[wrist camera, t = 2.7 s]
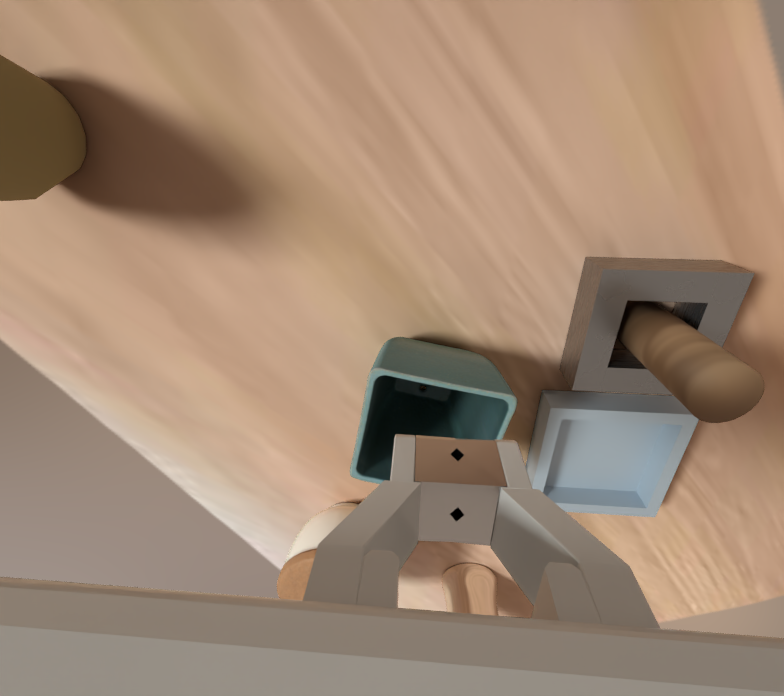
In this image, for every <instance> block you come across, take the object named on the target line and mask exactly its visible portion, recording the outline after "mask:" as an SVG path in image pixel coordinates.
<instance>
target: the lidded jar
mask: <svg viewBox="0 0 784 696" xmlns="http://www.w3.org/2000/svg"><path fill="white" fill-rule="evenodd" d="M358 505H359V504H356V503H339V504H335V505H333V506H331V507H329V508H328V509H326V510H323V511H321V512H320V513H318V514H316V515H315V516H314V517H312V518H311V519H310V520H309V521H308V522H307V523H306V524H305V525H304V526H303V528H302V529H301V530H300V532H299V533H298V535H297V536H296V538H295V540H294V542H293V544H292V546H291V548H290V550H289V553H288V556H287V558H286V561H285V564H284V566H283V568H282V570H281V572H280V575H279V578H278V582H277V592H278V595H279V598H280V599H291V600H303V598H304V594H305V590H306V587H307V583H308V580H309V576H310V572H311V569H312V565H313V561H314V558H315V554H316V550H317V547H318V544H319V543H320V542H321V541H322V540H323V539H324V538H325V537H326V536H327V535H328V534H329V533H330V532H331V531H332V530H333V529H334V528H335V527H336V526H337V525H338V524H339V523H341V522H342V521H343V520H344V519H345V518H346V517H347V516H348V515H349V514H350V513H351V512H352V511H353V510H354V509H355V508H356V507H357V506H358Z"/></svg>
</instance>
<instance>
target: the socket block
mask: <svg viewBox="0 0 784 696" xmlns="http://www.w3.org/2000/svg"><path fill="white" fill-rule="evenodd" d="M754 274H755V273H753V272H750V271H748V270H745V269H742V268H740V267H737V266H735V265H732V264H730V263H727V262H725V261H722V260H684V259H645V258H606V257H586V258H585V262H584V267H583V271H582V275H581V280H580V284H579V288H578V293H577V297H576V301H575V305H574V310H573V314H572V318H571V323H570V327H569V331H568V335H567V340H566V344H565V348H564V353H563V357H562V361H561V365H560V371H561V373H562V374H563V376H564V378H565V379H566V381H567V383H568V384H569V386H570V388H571V389H572V390H579V391H601V392H623V393H645V394H667V395H673V394H672V393H671V392H670V391H669V390H668V389H667V388H666V387H665V386H664V385H663V384H662V383H661V382H660V381H659V380H658V379H657V378H656V377H655V376H654V375H653V374H652V373H651V372H650V371H649V370H648V369H647V368H646V367H645V366H644V365H643V364H642V363H641V362H640V361H639V360H638V359H637V358H636V357H635V356H634V355H633V354H632V353H631V352H630V351H629V350H627V349H613V347H614V344H615V340H616V337H617V333H618V330H619V327H620V323H621V320H622V317H623V313H624V310H625V306H626V303H627V300H631V301H662V302H676V304H675V307H674V309H673V312H672V314H674V315H675V316H677V317H678V318H680V319H681V320H683V321H684V322H686V323H687V324H688V325H690V326H691V327H693V328H694V329H696V330H697V331H699V332H700V333H702V334H703V335H705V336H706V337H707V338H709V339H710V340H712V341H713V342H715V343H716V344H718V345H719V346H721V347H723V344H724V342H725V340H726V338H727V335H728V333H729V331H730V328H731V326H732V324H733V322H734V319H735V317H736V315H737V312H738V310H739V308H740V306H741V303H742V301H743V299H744V296H745V294H746V292H747V290H748V287H749V285H750V283H751V280H752V278H753V276H754Z"/></svg>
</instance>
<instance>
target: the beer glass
mask: <svg viewBox="0 0 784 696" xmlns="http://www.w3.org/2000/svg"><path fill="white" fill-rule="evenodd" d="M442 588H443V592H444V597H445V602H446V609H447V612H456V613H469V614H482V615H494V616H499V614H498V608H497V579H496V576H495V574H494V573H493V572H492V571H491V570H490V569H488V568H487V567H485V566H482V565H479V564H474V563H463V564H458V565H455V566H453V567H451V568H449V569H448V570H446V571H445V573H444V574H443V576H442Z"/></svg>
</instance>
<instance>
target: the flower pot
mask: <svg viewBox="0 0 784 696" xmlns="http://www.w3.org/2000/svg"><path fill="white" fill-rule="evenodd" d="M420 386H425V387H426V389H425V390H421V389H420ZM516 406H517V398H516V397H515V395H514V394H513V392H512V390H511V389H510V387H509V386H508V384H507V383H506V381H505V379H504V378H503V377H502V375H501V373H500V372H499V371H498V369H497V368H496V366H495V365H494V364H493V363H492V362H491V361H490V360H488V359H487V358H485V357H484V356H482V355H480V354H477V353H474V352H471V351H467V350H463V349H457V348H452V347H447V346H442V345H438V344H433V343H428V342H423V341H418V340H414V339H409V338H404V337H395V338H392V339H390V340H388V341H387V342H386V343H385V344H384V345H383V347H382V348H381V350H380V352H379V354H378V356H377V358H376V361H375V363H374V365H373V367H372V369H371V371H370V373H369V376H368V380H367V386H366V392H365V397H364V403H363V408H362V413H361V419H360V424H359V429H358V434H357V439H356V444H355V449H354V454H353V458H352V463H351V467H350V475H351V476H352V477H353V478H356V479H359V480H363V481H367V482H372V483H377V484H381V483H382V482H383V481H384V480H388V481H390V476H391V467H392V457H393V447H394V438H395V435H396V434H403V435H415V442H416V435H421V436H434V437H448V438H461V439H482V440H502V439H503V437H504V434H505V432H506V430H507V427H508V425H509V423H510V421H511V418H512V416H513V414H514V412H515V410H516Z"/></svg>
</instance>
